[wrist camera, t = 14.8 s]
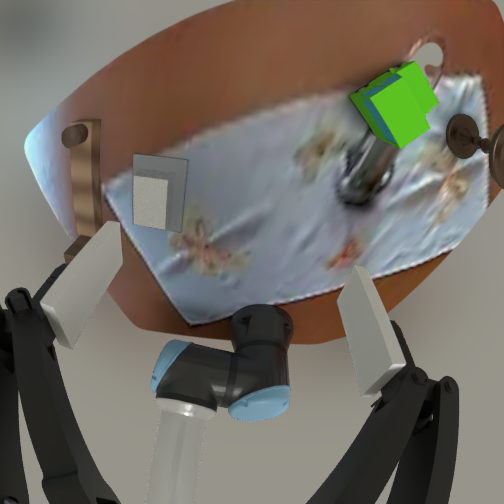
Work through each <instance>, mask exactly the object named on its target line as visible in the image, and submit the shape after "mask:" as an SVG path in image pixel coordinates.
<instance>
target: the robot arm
mask: <svg viewBox="0 0 504 504" xmlns="http://www.w3.org/2000/svg"><path fill="white" fill-rule="evenodd" d="M122 264H123V258H122V247H121V234H120V223H119V222H113V221H107V222H106V223H105V224H104V225H103V226H102V228H101V229H100V230H99V231H98V232H97V233H96V234H95V235H94V236H93V237H92V238H91V239H90V241H89V242H88V243H87V244H86V245H85V246H84V247H83V248H82V250H81V251H80V252H79V253H78V254H77V255H76V257H75V258H74V259H73V260H72V261H71V263H70V264H69V265H68V264H62V265H61V266H59V267H58V268H56V269H55V270H54V271H53V273H52V274H51V275H50V277H48V279H47V280H46V282H45V283H44V284H43V285H42V286H41V288H40V289H39V290H38V291H37V293H36V294H35V295H34V297H33V298H31V296H30V293H29V291H28V290H27V289H26V288H22V287H21V288H16V289H14V290H12V291H11V292H9V293H8V295H7V296H6V298H5V304H6V306H7V308H8V310H7V309H2V307H1V305H0V504H29V495H28V489H27V484H26V479H25V473H24V467H23V461H22V454H21V446H20V435H19V414H18V390H19V394H20V399H21V404H22V408H23V412H24V416H25V420H26V424H27V428H28V431H29V435H30V438H31V441H32V444H33V448H34V450H35V453H36V456H37V459H38V461H39V464H40V467H41V469H42V472H43V477H44V478H43V480H42V488H43V490H44V493H45V495H46V497H47V500H48V501H49V503H50V504H121V503H120V501H119V500H118V498H117V496H116V495H115V493H114V492H113V490H112V489H111V488H110V487H109V485H108V484H107V483H106V482H105V481H104V479H103V478H102V476H101V474H100V472H99V471H98V468H97V466H96V464H95V462H94V460H93V458H92V456H91V454H90V452H89V450H88V448H87V445H86V444H85V441H84V439H83V436H82V434H81V431H80V429H79V427H78V424H77V421H76V419H75V416H74V413H73V411H72V408H71V405H70V402H69V399H68V396H67V393H66V390H65V386H64V383H63V379H62V376H61V372H60V368H59V365H58V360H57V356H56V352H55V347H54V345H53V341H54V339H55V337H56V338H57V340H58V342H59V344H60V345H62V346H64V347H67V348H69V349H72V350H73V348H74V346H75V344H76V342H77V340H78V338H79V336H80V334H81V333H82V331H83V329H84V327H85V325H86V323H87V321H88V320H89V318H90V316H91V314H92V313H93V311H94V309H95V307H96V306H97V304H98V302H99V301H100V299H101V297H102V296H103V294H104V293H105V291H106V289H107V288H108V286H109V284H110V283H111V281H112V280H113V278H114V276H115V275H116V273H117V272H118V270H119V269H120V267H121V266H122ZM337 304H338V307H339V311H340V314H341V318H342V322H343V325H344V329H345V333H346V337H347V341H348V345H349V348H350V353H351V356H352V361H353V365H354V370H355V374H356V378H357V383H358V387H359V392H360V396H361V397H365V396H374V395H375V394H377V393H378V391H380V390H381V393H382V396H381V397H380V398H379V399H378V400H377V401H375V402H374V403H373V404H372V405H371V407H373V406H374V405H375V407H374V408H373V410H372V412H371V414H370V416H369V417H368V419H367V420H366V422H365V424H364V425H363V427H362V429H361V431H360V432H359V434H358V435H357V437H356V438H355V440H354V441H353V443H352V444H351V446H350V447H349V449H348V450H347V452H346V453H345V455H344V456H343V458H342V459H341V460H340V462H339V463H338V465H337V466H336V468H335V469H334V470H333V471H332V473H331V474H330V475H329V476H328V478H327V479H326V480H325V482H324V483H323V484H322V485H321V486H320V488H319V489H318V490H317V492H316V493H315V494H314V495H313V496H312V497H311V498H310V500H309V501H308V502H307V503H306V504H375V502H376V501H377V499H378V497H379V496H380V494H381V493H382V491H383V489H384V487H385V486H386V484H387V482H388V480H389V479H390V477H391V475H392V473H393V471H394V469H395V467H396V465H397V463H398V461H399V464H398V468H397V471H396V475H395V478H394V482H393V485H392V488H391V492H390V495H389V498H388V501H387V503H386V504H448V501H449V497H450V492H451V487H452V482H453V476H454V470H455V462H456V453H457V443H458V428H459V388H458V385H457V383H456V381H455V380H454V379H453V378H452V377H449V376H445V377H443V378H442V379H441V380H440V381H435V380H432V379H429V378H428V376H427V374H426V373H425V372H424V371H423V370H422V369H421V368H419V367H416V366H415V364H414V361H413V358H412V356H411V353H410V351H409V348H408V346H407V344H406V341H405V339H404V338H403V333H402V331H401V329H400V327H399V326H398V325H397V323H396V322H395V321H392V320H389V318H388V315H387V313H386V311H385V308H384V306H383V304H382V301H381V299H380V297H379V295H378V292H377V290H376V288H375V286H374V284H373V282H372V279H371V277H370V275H369V273H368V271H367V269H366V267H360V266H355V265H354V267H353V270H352V272H351V274H350V276H349V278H348V280H347V282H346V284H345V286H344V288H343V290H342V292H341V294H340V296H339V298H338V300H337ZM229 335H230V338H231V342H232V345H233V348H234V353H233V352H229V351H224V350H219V349H215V348H210V347H206V346H202V345H198V344H194V343H193V342H184V341H180V340H171V341H169V342H168V343H167V344H166V345H165V347H164V348H163V350H162V352H161V353H160V356H159V358H158V360H157V363H156V365H155V368H154V371H153V376H152V379H151V384H150V388H151V390H152V391H153V392H154V393H157V394H156V398H155V401H156V403H157V404H158V406H159V408H160V409H161V414H160V419H159V424H158V429H157V434H156V439H155V444H154V450H153V455H152V462H151V468H150V473H149V480H148V485H147V492H146V500H145V504H195V496H196V489H197V482H198V475H199V468H200V462H201V455H202V448H203V442H204V435H205V429H206V422H207V420H208V419H210V418H211V417H213V416H214V415H216V411H217V406H218V407H224V408H228V412H229V415H230V416H231V417H232V418H236V419H237V420H242V421H260V420H266V419H270V418H273V417H276V416H278V415H280V414H282V413H283V412H284V411H285V410H286V409H287V408H288V406H289V402H290V398H289V397H290V390H291V389H290V384H289V370H288V356H287V351H288V348H289V345H290V342H291V339H292V336H293V322H292V319H291V317H290V316H289V315H288V314H287V313H286V312H285V311H284V310H282V309H280V308H278V307H275V306H271V305H252V306H248V307H245V308H242V309H240V310H239V311H237V312H236V313H235V314H234V315H233V316H232V318H231V320H230V325H229ZM432 415H433V419H432ZM399 459H400V460H399Z"/></svg>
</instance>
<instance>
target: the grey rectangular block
mask: <svg viewBox="0 0 504 504" xmlns="http://www.w3.org/2000/svg"><path fill="white" fill-rule="evenodd" d="M174 180H175V173H173V172H166V171H158V170H150V169H142V170H141V171H139V172H138V173H137V174H135V175H134V188H133V209H134V224H135V225H141V226H147V227H152V228H158V229H164V230H165V229H166V228H167V226H168V224H169V223H170V221H171V220H172V206H173V192H174Z"/></svg>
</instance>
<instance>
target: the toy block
mask: <svg viewBox="0 0 504 504" xmlns="http://www.w3.org/2000/svg"><path fill="white" fill-rule="evenodd" d="M349 97H350V98H351V100H352V101H353V103H354V104H355V105H356V107H357V108H358V110H359V111H360V113H361V114H362V116H363V117H364V119H365V120H366V122H367V123H368V125H369V126H370V128H371V129H372V131H373V133H374V134H375V136H376V137H377V138H379V139H381V140H383V141H385V142H388V143H390V144H392V145H394V146H396V147H397V148H399V149H401V148H403V147H404V146H406V145H407V144H408V143H410V142H411V141H413V140H414V139H416V138H417V137H418V136H420V135H421V134H423V133H424V132H425V131H427V130H428V129H430V126H429V124H428V122H427V120H426V118H425V115H426V114H427V113H428V112H429V111H430V110H431V109H432V108H434V107H435V106H436V105H437V104H438V103H439V102H438V100H437V98H436V96H435V94H434V92H433V90H432V88H431V86H430V84H429V83H428V81H427V79H426V77H425V76H424V74H423V73H422V70H421V69H420V67H419V65H418V64H417V63H416V61H413V62H405V63H403V64H401V65H400V66H396V67H394V68H389V71H388V72H386V73H384V74H383V75H381V76H379V77H378V78H376V79H375V80H373V81H371V82H370V83H368V85H366V86H364V87H362V88H360V89H359V90H357V91H356V92H355V93H353V94H351V95H350V96H349Z"/></svg>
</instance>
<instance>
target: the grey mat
mask: <svg viewBox="0 0 504 504" xmlns="http://www.w3.org/2000/svg"><path fill="white" fill-rule="evenodd" d="M187 168H188V160H186V159H178V158H171V157H162V156H153V155H144V154H134V155H133V188H134V175H135V174H137V173H138V172H139V171H141V170H142V169H150V170H158V171H166V172H173V173H175V180H174V192H173V206H172V220H171V221H170V223H169V224H168V226H167V228H166V229H165V230H168V231H174V232H179V233H181V232H182V220H183V208H184V196H185V186H186V177H187ZM133 188H132V205H133ZM133 224H134V209H133ZM134 225H135V224H134ZM140 226H141V225H140ZM145 227H147V226H145ZM151 228H152V227H151ZM157 229H158V228H157ZM162 230H164V229H162Z"/></svg>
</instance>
